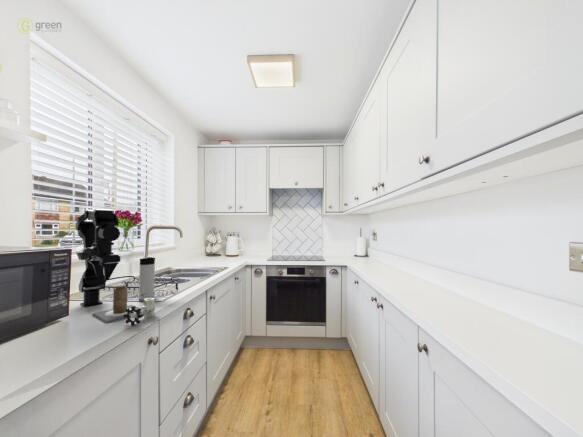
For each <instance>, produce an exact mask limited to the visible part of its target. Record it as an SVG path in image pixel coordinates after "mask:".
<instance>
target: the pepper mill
mask: <svg viewBox="0 0 583 437" xmlns="http://www.w3.org/2000/svg"><path fill="white" fill-rule="evenodd" d="M128 288H129V287H126V284H122V285H121V284H120V285H116V286H115V288H113V292H112V293H113V294H112V295H113V297H112V298H113V299H112V309H113V313H114V314H120V313H125V312H126V309H127V306H128Z"/></svg>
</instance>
